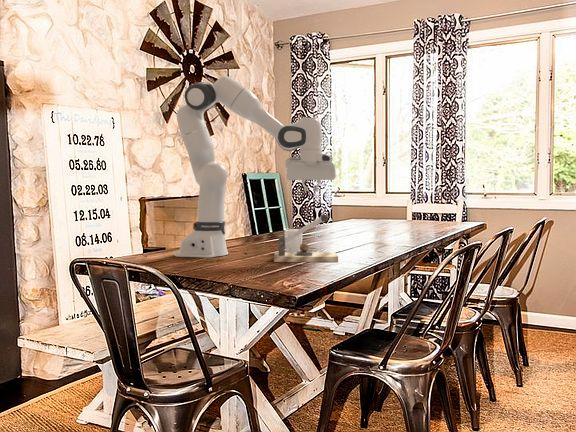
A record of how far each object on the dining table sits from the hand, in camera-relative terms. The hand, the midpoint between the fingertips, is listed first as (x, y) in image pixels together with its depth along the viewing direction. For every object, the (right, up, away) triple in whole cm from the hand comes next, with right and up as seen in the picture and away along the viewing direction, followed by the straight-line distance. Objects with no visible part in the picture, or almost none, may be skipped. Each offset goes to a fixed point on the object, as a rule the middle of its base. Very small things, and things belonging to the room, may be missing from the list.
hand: (310, 191), depth 227 cm
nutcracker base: (-2, -28, -6) cm, 28 cm away
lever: (-3, -17, -7) cm, 18 cm away
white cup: (-7, -26, +13) cm, 30 cm away
